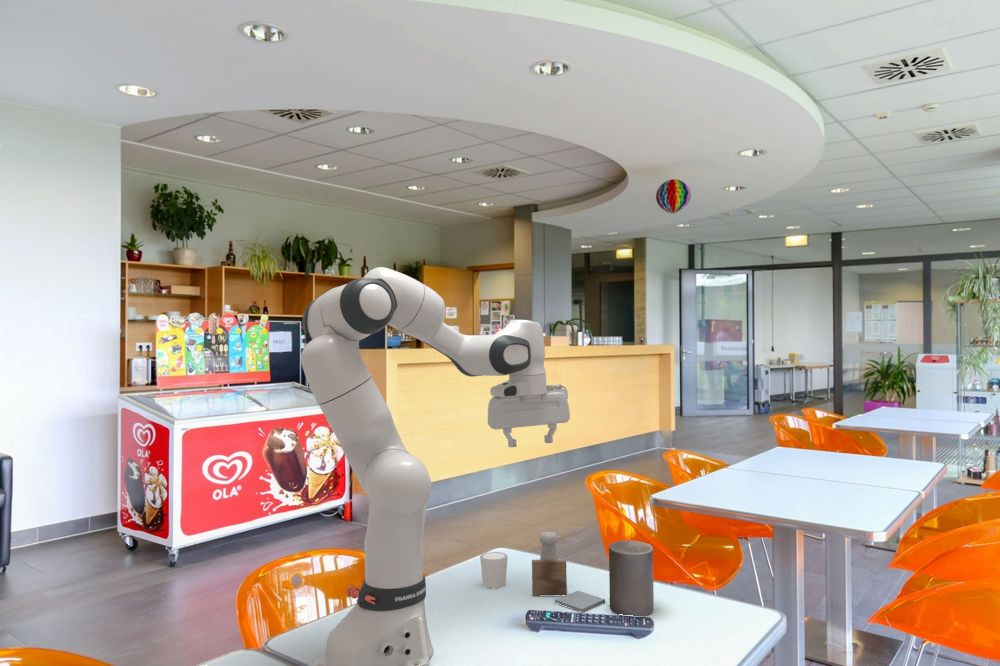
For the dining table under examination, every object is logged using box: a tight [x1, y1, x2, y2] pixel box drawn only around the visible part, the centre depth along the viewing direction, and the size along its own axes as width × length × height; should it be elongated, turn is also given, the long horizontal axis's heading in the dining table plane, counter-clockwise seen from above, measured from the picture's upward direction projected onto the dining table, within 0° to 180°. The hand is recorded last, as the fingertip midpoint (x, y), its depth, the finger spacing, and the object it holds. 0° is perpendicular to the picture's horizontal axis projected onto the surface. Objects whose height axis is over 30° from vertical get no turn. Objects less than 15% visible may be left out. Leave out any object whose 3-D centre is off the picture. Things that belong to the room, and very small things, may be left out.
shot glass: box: [479, 551, 509, 590], centre depth 167 cm, size 7×7×7 cm
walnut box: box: [531, 559, 568, 597], centre depth 159 cm, size 8×2×8 cm, turn 87°
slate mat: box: [554, 590, 606, 613], centre depth 154 cm, size 8×8×1 cm
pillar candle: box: [608, 539, 655, 617], centre depth 150 cm, size 10×10×15 cm
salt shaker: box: [539, 531, 559, 560], centre depth 165 cm, size 6×6×13 cm
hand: (530, 444), depth 162 cm, fingers open, 8 cm apart
